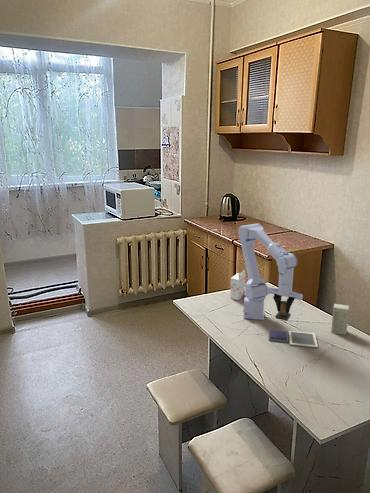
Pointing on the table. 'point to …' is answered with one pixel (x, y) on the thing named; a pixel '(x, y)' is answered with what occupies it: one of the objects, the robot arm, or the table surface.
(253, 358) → the table surface
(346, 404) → the table surface
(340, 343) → the table surface
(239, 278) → the ink cartridge box
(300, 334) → the marked square
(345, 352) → the table surface
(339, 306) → the skincare box
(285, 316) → the stamp
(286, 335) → the ink pad
